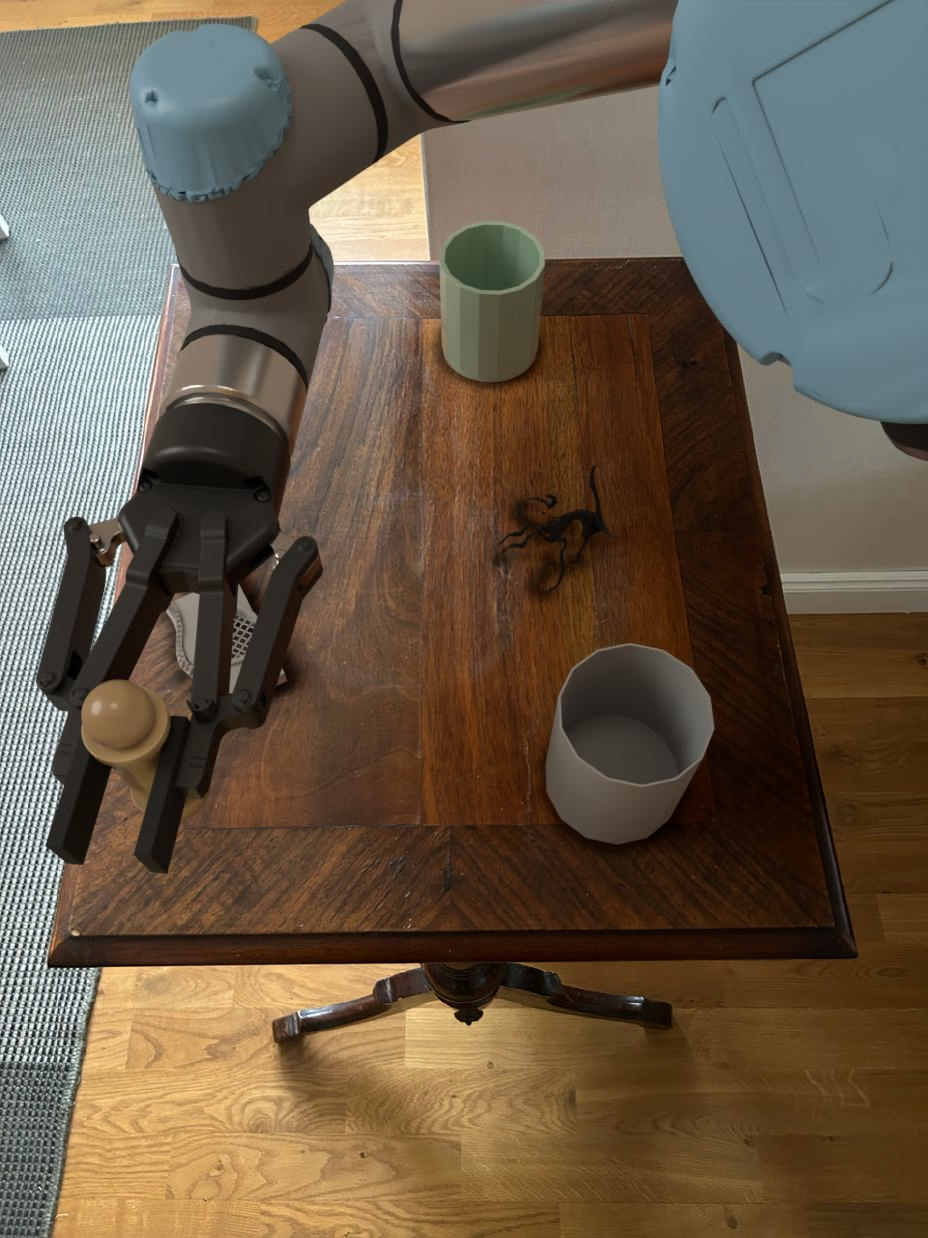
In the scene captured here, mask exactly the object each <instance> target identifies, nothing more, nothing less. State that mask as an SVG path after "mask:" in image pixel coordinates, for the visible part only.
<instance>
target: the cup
mask: <svg viewBox="0 0 928 1238" xmlns="http://www.w3.org/2000/svg"><path fill="white" fill-rule="evenodd" d="M712 706H713V705H712V699H711V696H710V694H709V692H708V691H707V690H706V688H705V686H704V685H703V683H702V682H701V680H700V679H699V677H698V675H697V674H696V672H695V671H694V670H693V668H691V666H689V665H687V664H686V663H684V662H682V661H681V660H680V659H678V658H676V657H675V656H674V655H672V654H670V653H669V652H667V651H666V650H664V649H661V648H656V647H652V646H647V645H641V644H637V643H632V642H629V643H623V644H618V645H613V646H608V647H603V648H598V649H596V650H594V651H593V652H592V653H591V654H589V655H588V656H587V657H585V658H584V659H582V660H581V661H579V662H578V663H577V664H575V666H573V667H572V668H571V669H570V671H569V674H568V675H567V677H566V679H565V681H564V683H563V686H562V687H561V689H560V692H559V694H558V695H557V701H556V706H555V712H554V717H553V722H552V728H551V732H550V738H549V743H548V749H547V754H546V760H545V780H546V781H545V785H546V787H545V788H546V794H547V796H548V798H549V800H550V801H551V803H552V805H553V807H554V809H555V811H556V812H557V814H558V816H559V818H560V819H561V820H562V821H563V822H564V823H565V824H567V825H568V826H570V827H571V828H572V829H573V830H575V831H576V832H577V833H579V834H580V835H581V836H583V837H584V838H585V839H589V840H594V841H597V842H598V841H599V842H602V843H607V844H612V845H622V844H626V843H627V844H628V843H630V842H635V841H640V840H644V839H648V838H649V837H650V836H651V835H652V834H654V833H655V832H656V831H657V830H658V829H660V828H661V827H662V826H663V825H664V824H666V823H667V822H668V821H669V820H670V819H671V817H672V816H673V813H674V811H675V810H676V808H677V806H678V804H679V802H680V801H681V798H682V797H683V795H684V793H685V792H686V790H687V788H688V786H689V784H690V782H691V780H692V779H693V777H694V775H695V774H696V772H697V770H698V768H699V766H700V765H701V762H702V761H703V759H704V756H705V754H706V752H707V749H708V746H709V745H710V744H709V743H710V741H711V738H712V736H713V734H714V731H715V721H714V715H713V708H712Z"/></svg>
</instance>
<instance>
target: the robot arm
mask: <svg viewBox="0 0 928 1238" xmlns="http://www.w3.org/2000/svg"><path fill="white" fill-rule="evenodd" d="M128 85H129V87H128V89H129V99H130V105H131V110H132V114H133V116H132V117H133V122H134V127H135V131H136V135H137V140H138V144H139V148H140V152H141V158H142V163H143V165H144V167H145V172H146V173H147V175H148V178H149V181H150V182H151V185H152V188H153V191H154V193H155V196H156V200H157V202H158V205H159V208H160V210H161V213H162V216H163V219H164V222H165V224H166V227H167V231H168V233H169V235H170V238H171V241H172V244H173V246H174V249H175V255H176V260H177V263H178V267H179V271H180V275H181V278H182V280H183V284H184V287H185V290H186V293H187V296H188V299H189V305H190V315H189V319H188V323H187V325H186V330H185V333H184V336H183V340H182V343H181V346H180V349H179V352H178V354H177V357H176V362H175V364H174V368H173V369H172V373H171V376H170V379H169V381H168V384H167V387H166V390H165V393H164V395H163V398H162V401H161V404H160V406H159V412H158V418H157V420H156V422H155V424H154V427H153V429H152V433H151V436H150V439H149V442H148V445H147V448H146V450H145V453H144V457H143V460H142V463H141V465H140V470H139V472H138V473H139V474H138V480H137V485H136V489H135V492H134V494H133V495H132V496H131V498H130V499H129V500H128V501H127V502H126V503H124V504H123V506H122V507H121V508H120V510H119V512H118V515H117V517H114V518H110V519H106V520H102V521H98V522H95V523H94V522H93V523H91V524H89V523H88V521H87V520H86V519H85V518H84V517H82V516H72V517H70V518H67V520H66V521H65V522H64V524H63V528H62V531H63V535H64V541H65V542H64V543H65V548H66V553H67V557H66V561H65V564H64V568H63V572H62V575H61V580H60V584H59V587H58V592H57V596H56V599H55V603H54V606H53V611H52V615H51V618H50V623H49V626H48V630H47V634H46V637H45V642H44V645H43V648H42V653H41V657H40V661H39V664H38V669H37V672H36V676H35V684H36V686H37V688H38V689H39V690H40V691H41V692H42V694H43V695H44V696H45V698H47V699H48V701H50V703H51V704H52V705H53V706H54V708H56V709H57V710H58V711H61V712H66V713H67V715H66V718H65V722H64V724H63V727H62V731H61V733H60V737H59V740H58V744H57V746H56V749H55V752H54V755H53V759H52V761H51V771H52V773H51V774H52V776H53V777H54V778H55V779H56V780H57V781H58V782H59V783H60V784H61V785H63V788H62V791H61V794H60V797H59V800H58V803H57V806H56V809H55V813H54V815H53V820H52V823H51V826H50V829H49V832H48V835H47V838H46V842H45V848H47V849H48V850H49V851H51V853H53V854H54V855H56V856H57V857H58V858H59V859H61V860H62V861H63V862H64V863H66V864H67V865H75V866H77V865H78V866H84V865H85V861H86V858H87V854H88V850H89V848H90V844H91V841H92V837H93V834H94V830H95V827H96V823H97V820H98V816H99V812H100V810H101V806H102V802H103V799H104V796H105V792H106V789H107V787H108V781H109V779H110V776H111V772H112V769H113V768H112V767H111V766H109V765H106V764H103V763H102V762H100V761H98V760H97V759H96V758H94V756H93V755H92V754H91V753H90V752H89V751H88V750H87V748H86V747H85V745H84V742H83V739H82V734H81V726H82V719H81V711H82V706H83V703H84V701H85V699H86V697H87V696H88V694H89V693H90V692H91V691H92V690H93V689H94V688H95V687H97V686H98V685H100V684H102V683H104V682H107V681H110V680H127V681H130V678H131V676H132V674H133V672H134V670H135V668H136V667H137V664H138V662H139V660H140V658H141V656H142V653H143V651H144V649H145V647H146V645H147V643H148V641H149V639H150V638H151V634H152V632H153V631H154V629H155V626H156V625H157V622H158V620H159V618H160V616H161V614H162V613H166V610H167V609H168V607H169V605H170V603H171V601H173V599H174V597H175V595H176V594H183V593H193V592H194V593H196V594H199V607H198V619H197V631H196V642H195V654H194V666H193V678H191V690H190V699H186V700H185V703H186V706H187V708H188V709H189V711H190V712H191V716H190V719H189V717H188V716H181V715H173V714H170V719H171V724H170V730H169V734H168V736H167V738H166V740H165V742H164V744H163V747H162V750H161V754H160V758H159V761H158V765H157V769H156V773H155V776H154V780H153V784H152V788H151V791H150V795H149V799H148V802H147V806H146V810H145V814H143V818H142V821H141V825H140V828H139V829H140V830H139V832H138V833H139V834H138V836H137V840H136V843H135V847H134V851H133V856H134V857H135V858H136V859H137V860H138V861H139V862H140V863H141V864H142V865H143V866H144V867H145V868H146V869H147V870H148V871H149V872H150V873H154V874H164V875H168V874H169V870H170V865H171V860H172V857H173V853H174V849H175V845H176V842H177V837H178V833H179V830H180V829H179V828H180V825H181V822H180V821H181V817H182V813H183V809H184V805H185V801H186V798H193V799H203V798H204V796H205V795H206V793H207V792H208V790H209V788H210V789H211V783H212V779H213V775H214V771H215V770H214V769H215V767H216V762H217V758H218V753H219V750H220V746H221V742H222V739H223V738H224V737H225V735H227V733H229V732H231V731H233V730H237V729H241V728H242V729H243V728H245V729H249V730H257V729H260V728H261V727H262V726H263V725H265V723H266V721H267V718H268V716H269V711H270V708H271V705H272V703H273V699H274V695H275V692H276V689H277V687H278V685H277V683H278V679H279V676H280V673H281V670H282V669H283V666H284V663H285V661H286V660H285V659H286V656H287V653H288V649H289V647H290V643H291V640H292V638H293V634H294V631H295V627H296V624H297V620H298V617H299V613H300V611H301V607H302V604H303V602H304V600H305V598H306V596H307V595H308V594H309V593H310V591H312V589H313V587H314V586H315V585H316V584H317V582H318V581H319V580H320V578H321V577H322V575H323V574H324V567H323V563H322V559H321V554H320V549H319V546H318V543H317V540H316V539H315V538H314V537H312V536H309V535H303V536H300V537H298V538H295V537H293V536H290V535H289V534H287V533H285V532H283V530H282V528H281V523H280V520H279V515H280V513H281V509H282V505H283V500H284V496H285V491H286V487H287V484H288V479H289V475H290V470H291V465H292V459H291V458H292V457H293V454H294V450H295V447H296V443H297V440H298V435H299V431H300V428H301V427H300V426H301V423H302V419H303V414H304V412H305V406H306V402H307V396H308V391H309V388H310V383H311V380H312V375H313V372H314V367H315V363H316V360H317V355H318V352H319V348H320V343H321V340H322V335H323V332H324V327H325V325H326V324H327V322H328V317H329V315H328V314H329V313H330V312H331V310H332V304H333V283H334V275H335V264H334V258H333V254H332V251H331V248H330V246H329V245H328V243H327V241H325V240H324V239H323V237H322V236H321V235H320V233H319V232H318V231H317V228H316V227H315V225H313V224H312V223H311V217H310V209H311V208H312V206H314V205H315V204H316V203H319V202H320V201H321V200H323V199H324V198H326V197H327V196H329V195H330V194H332V193H334V192H335V191H336V190H338V189H339V188H341V187H342V186H344V185H345V184H346V183H348V182H350V181H351V180H353V179H354V178H356V177H357V176H358V175H360V174H361V173H363V172H364V171H366V170H367V169H369V168H370V167H372V166H373V165H375V164H377V163H378V162H379V161H380V160H382V159H383V158H384V157H386V156H388V155H389V154H391V153H392V152H393V151H395V150H397V149H398V148H400V147H401V146H403V145H405V144H406V143H408V142H409V141H410V140H412V139H413V138H416V137H417V136H419V135H421V134H422V133H425V132H427V131H430V130H433V129H439V128H444V127H450V126H457V125H460V124H466V123H470V122H472V121H477V120H482V119H487V118H492V117H499V116H504V115H508V114H509V115H510V114H515V113H520V112H526V111H530V110H536V109H541V108H547V107H552V106H557V105H558V106H559V105H562V104H569V103H573V102H580V101H584V100H590V99H595V98H600V97H606V96H613V95H617V94H622V93H627V92H633V91H637V90H638V91H639V90H643V89H648V88H654V87H658V95H657V131H656V132H657V133H656V135H657V136H656V137H657V151H658V163H659V170H660V177H661V185H662V190H663V191H662V192H663V196H664V200H665V205H666V209H667V213H668V216H669V219H670V222H671V226H672V229H673V232H674V235H675V239H676V242H677V245H678V248H679V250H680V252H681V255H682V258H683V260H684V262H685V264H686V267H687V268H688V270H689V273H690V275H691V278H692V279H693V281H694V283H695V285H696V286H697V289H698V290H699V292H700V294H701V296H702V298H703V299H704V300H705V302H706V303H707V306H709V308H710V310H711V311H712V313H713V314H714V316H715V318H716V319H717V320H718V321H719V323H720V324H721V325H722V326H723V328H724V329H725V330H726V332H727V333H728V334H729V336H731V338H733V340H734V341H735V342H736V344H737V345H739V346H740V347H741V349H742V350H744V352H745V353H747V355H749V357H750V358H752V359H753V360H755V361H756V362H757V363H758V364H759V365H761V366H770V365H772V364H774V363H776V362H782V363H783V364H785V365H787V366H788V367H790V368H791V371H792V377H793V378H792V379H793V380H792V381H793V383H792V388H793V389H794V391H795V392H796V393H798V394H801V395H802V396H804V397H806V398H808V399H810V400H812V401H814V402H816V403H818V404H820V405H822V406H825V407H827V408H830V409H832V410H834V411H837V412H840V413H843V414H846V415H850V416H852V417H856V418H860V419H865V420H871V421H876V422H879V423H880V425H881V427H882V429H883V432H884V433H885V435H886V437H887V439H888V440H889V441H890V442H891V444H892V446H894V447H895V449H897V450H899V451H900V452H902V453H903V454H905V455H907V456H909V457H912V458H914V459H918V460H921V461H924V462H928V0H345V1H343V2H341V3H340V4H337V5H336V6H334V7H333V8H332V9H330V10H328V11H326V12H324V13H323V14H321V15H320V16H318V17H317V18H315V19H314V20H312V21H310V22H308V23H307V24H303V25H301V26H300V27H298V28H295V29H293V30H291V31H290V32H288V33H286V34H285V35H282V36H281V37H280V38H278V39H276V40H274V41H272V42H271V43H270V42H269V41H268V40H267V39H266V38H264V37H263V36H262V35H260V34H258V33H256V32H254V31H252V30H250V29H248V28H245V27H242V26H238V25H233V24H226V23H203V24H200V25H199V26H198V27H197V28H196V29H195V30H194V29H193V30H189V31H186V30H180V29H178V30H177V29H176V30H174V31H171V32H169V33H167V34H165V35H163V36H161V37H159V38H158V39H156V40H155V41H154V42H152V43H151V44H150V45H148V46H147V47H146V48H145V49H144V50H143V52H142V53H140V55H139V56H138V58H137V60H136V62H135V63H134V65H133V67H132V70H131V73H130V77H129V84H128ZM124 543H126V544H127V546H128V548H129V550H130V553H131V554H132V558H131V560H130V562H129V564H128V565H127V568H126V571H125V582H124V585H123V587H122V589H121V591H120V593H119V594H118V596H117V599H116V600H115V603H114V605H113V606H112V609H111V610H110V613H109V615H108V616H107V619H106V621H105V622H104V624H103V627H102V628H101V630H100V632H99V634H98V637H97V638H96V640H95V642H94V644H93V641H94V637H95V633H96V632H95V631H96V627H97V624H98V620H99V615H100V612H101V606H102V604H103V603H102V602H103V597H104V593H105V590H106V584H107V568H110V567H112V566H113V565H114V564H115V560H114V559H115V558H116V555H117V550H118V548H119V547H120V545H122V544H124ZM269 559H271V562H270V564H271V567H272V572H271V575H270V578H269V581H268V583H267V587H266V590H265V593H264V595H263V599H262V602H261V605H260V608H259V611H258V613H257V620H256V623H255V626H253V627H254V629H253V630H252V632H251V633H252V635H251V638H250V641H248V643H247V646H248V647H246V650H245V651H246V653H244V654H245V656H244V659H243V662H242V666H241V669H240V672H239V675H238V678H237V681H236V684H235V687H234V690H233V693H229V690H230V674H231V659H232V658H233V653H232V646H233V643H234V642H233V640H234V638H233V633H234V629H235V628H234V623H235V621H234V616H235V615H236V613H237V601H238V585H240V584H241V583H242V582H243V581H245V580H246V579H247V578H248V577H249V576H250V575H252V574H253V573H254V572H255V571H257V570H258V569H259V568H260V567H261V566H262V565H263V564H264V563H266V562H267V561H268V560H269Z"/></svg>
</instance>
